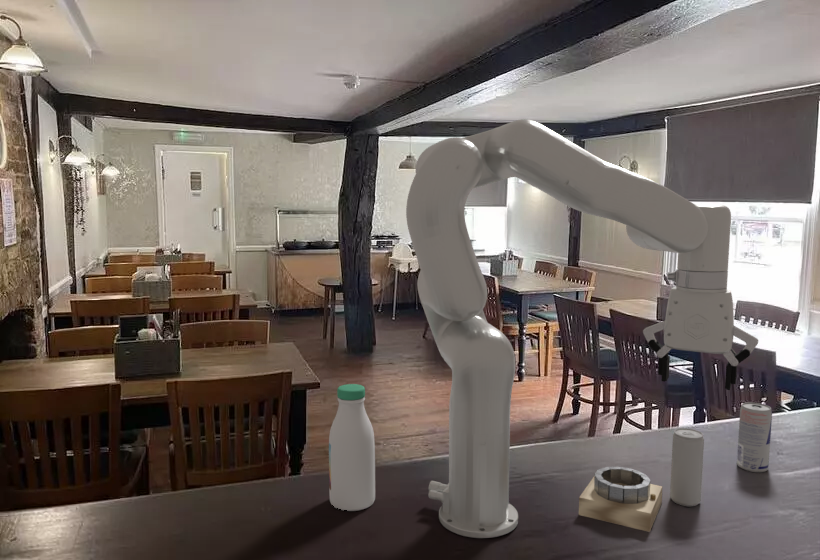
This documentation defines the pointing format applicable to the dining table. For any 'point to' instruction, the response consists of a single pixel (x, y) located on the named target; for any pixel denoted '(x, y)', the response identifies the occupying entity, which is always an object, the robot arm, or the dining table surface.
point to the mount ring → (620, 493)
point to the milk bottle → (351, 452)
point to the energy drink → (754, 437)
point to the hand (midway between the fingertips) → (695, 383)
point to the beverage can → (686, 467)
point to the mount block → (621, 508)
